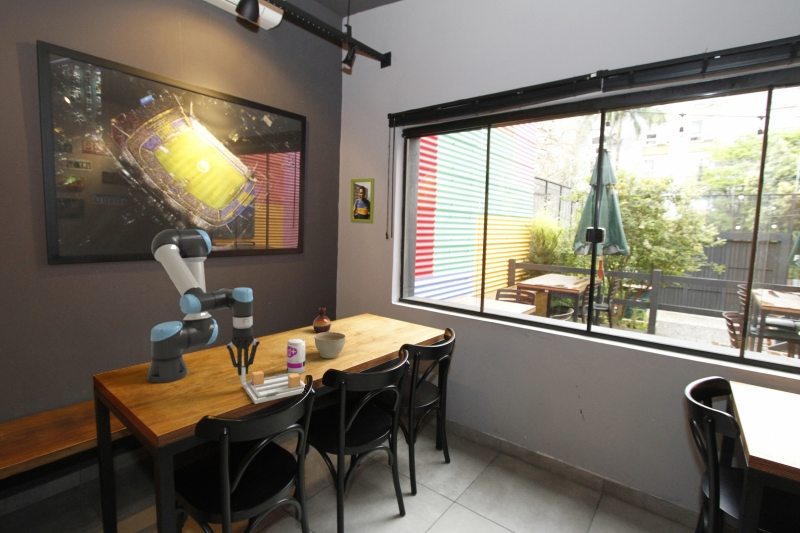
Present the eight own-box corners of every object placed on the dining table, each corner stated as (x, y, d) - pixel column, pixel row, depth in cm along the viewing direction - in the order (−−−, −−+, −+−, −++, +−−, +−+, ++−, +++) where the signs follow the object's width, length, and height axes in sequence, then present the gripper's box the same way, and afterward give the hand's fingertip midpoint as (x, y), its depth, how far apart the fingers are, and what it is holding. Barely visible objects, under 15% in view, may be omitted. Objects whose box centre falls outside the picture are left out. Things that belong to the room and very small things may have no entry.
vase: (328, 334, 242) (329, 310, 240) (311, 333, 242) (311, 309, 240) (332, 329, 253) (332, 306, 251) (315, 328, 253) (315, 305, 251)
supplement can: (295, 376, 176) (296, 344, 174) (283, 372, 180) (283, 340, 178) (308, 371, 182) (309, 340, 181) (296, 367, 187) (296, 336, 185)
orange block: (254, 386, 159) (254, 375, 159) (251, 383, 162) (251, 372, 162) (263, 384, 162) (263, 373, 161) (261, 381, 165) (261, 370, 164)
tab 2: (290, 389, 158) (291, 377, 158) (288, 386, 161) (288, 375, 161) (300, 387, 161) (300, 376, 160) (297, 384, 164) (297, 373, 163)
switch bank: (255, 404, 148) (255, 397, 148) (242, 386, 163) (242, 380, 162) (309, 391, 161) (309, 385, 160) (293, 376, 175) (293, 371, 175)
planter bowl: (351, 356, 205) (351, 336, 203) (326, 363, 193) (326, 342, 192) (332, 348, 216) (333, 329, 214) (307, 355, 204) (308, 335, 203)
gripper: (227, 330, 149) (227, 388, 151) (261, 326, 156) (261, 382, 159) (223, 325, 155) (223, 382, 157) (256, 322, 162) (256, 375, 165)
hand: (242, 382), depth 158 cm, fingers closed
